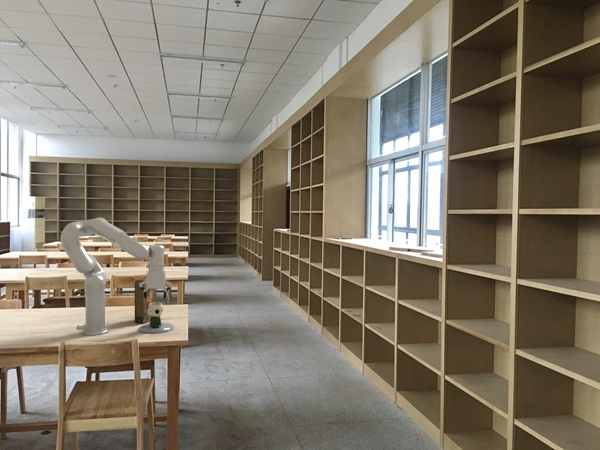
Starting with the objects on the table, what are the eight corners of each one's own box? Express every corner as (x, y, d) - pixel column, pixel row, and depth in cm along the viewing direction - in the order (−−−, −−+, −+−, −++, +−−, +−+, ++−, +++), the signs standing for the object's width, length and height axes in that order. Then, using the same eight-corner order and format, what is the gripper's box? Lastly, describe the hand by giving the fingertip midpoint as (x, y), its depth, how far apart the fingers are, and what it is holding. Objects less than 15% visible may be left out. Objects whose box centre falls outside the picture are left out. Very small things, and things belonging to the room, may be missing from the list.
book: (149, 316, 287) (149, 275, 286) (157, 317, 286) (157, 276, 285) (134, 323, 271) (134, 280, 270) (143, 324, 270) (143, 280, 269)
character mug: (152, 330, 253) (153, 306, 253) (143, 328, 256) (143, 304, 256) (167, 325, 263) (167, 302, 262) (157, 324, 266) (157, 301, 266)
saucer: (138, 334, 249) (138, 332, 249) (140, 325, 266) (140, 324, 266) (173, 332, 254) (173, 330, 254) (173, 324, 271) (173, 322, 271)
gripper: (139, 268, 252) (138, 300, 253) (172, 268, 257) (171, 300, 258) (140, 266, 260) (138, 297, 260) (172, 267, 264) (171, 297, 265)
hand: (155, 298), depth 259 cm, fingers open, 9 cm apart
